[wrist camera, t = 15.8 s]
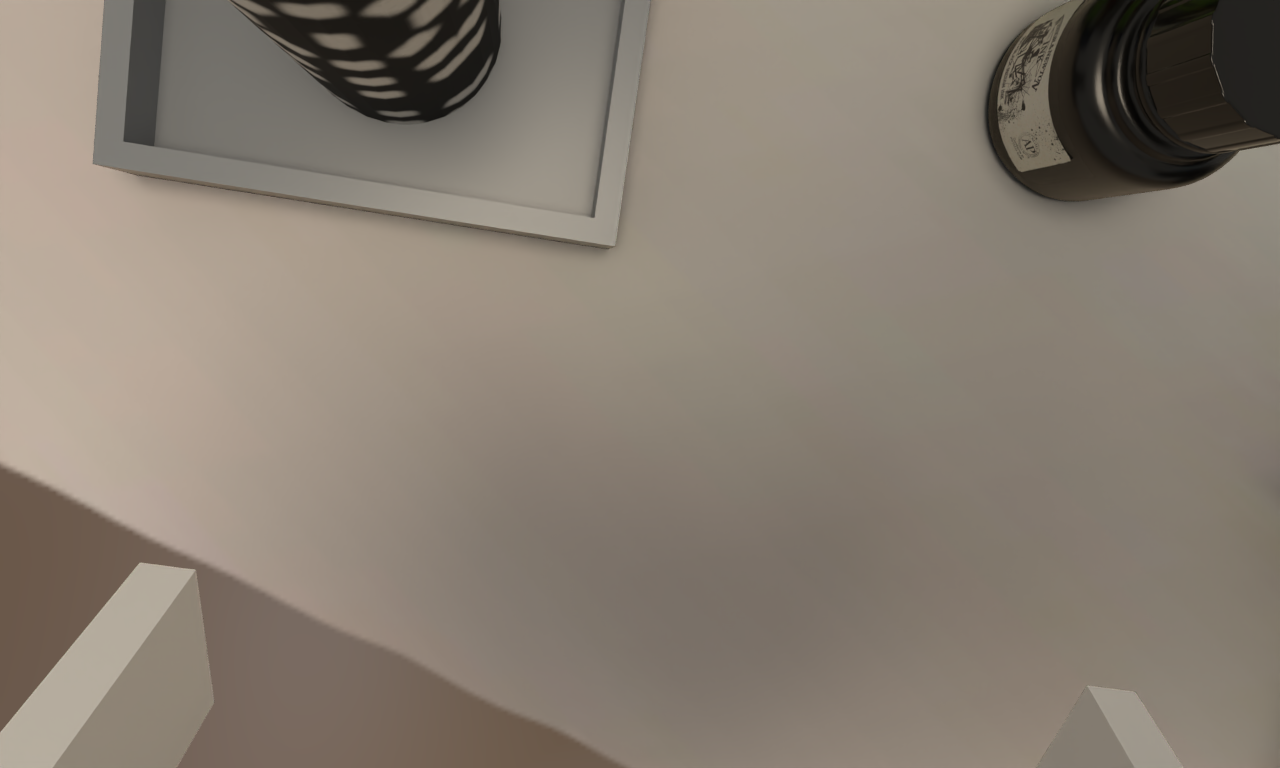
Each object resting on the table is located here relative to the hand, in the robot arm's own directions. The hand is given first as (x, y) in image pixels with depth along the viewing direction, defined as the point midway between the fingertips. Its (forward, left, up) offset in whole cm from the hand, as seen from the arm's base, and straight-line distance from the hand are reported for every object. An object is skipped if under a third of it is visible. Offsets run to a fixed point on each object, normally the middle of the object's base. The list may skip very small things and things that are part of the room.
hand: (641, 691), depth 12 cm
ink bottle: (-22, -18, -26) cm, 38 cm away
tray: (+9, -16, -26) cm, 32 cm away
